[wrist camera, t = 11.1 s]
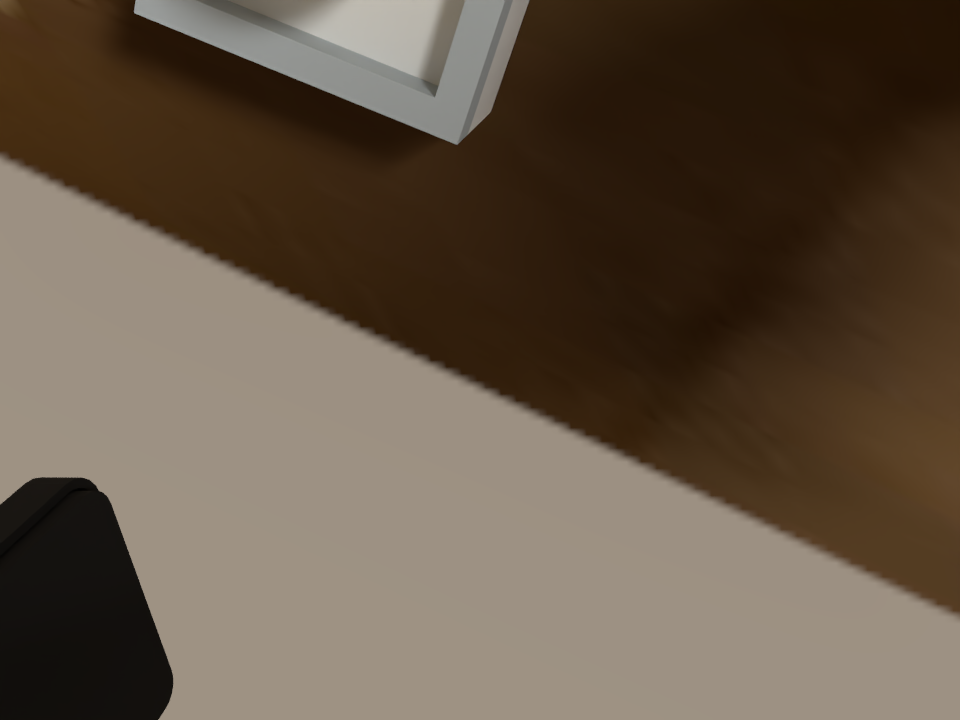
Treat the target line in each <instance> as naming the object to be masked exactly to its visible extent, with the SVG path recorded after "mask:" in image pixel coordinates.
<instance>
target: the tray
mask: <svg viewBox="0 0 960 720" xmlns="http://www.w3.org/2000/svg"><path fill="white" fill-rule="evenodd" d="M528 3H529V0H136V1H135V9H134V13H135V14H137V15H140V16H142V17H145V18H147V19H150V20H152V21H155V22H157V23H159V24H162V25H164V26H167V27H169V28H172V29H174V30H177V31H179V32H182V33H184V34H186V35H189V36H191V37H194V38H196V39H199V40H201V41H204V42H206V43H208V44H211V45H213V46H216V47H218V48H221V49H223V50H226V51H228V52H231V53H233V54H235V55H238V56H240V57H243V58H245V59H248V60H250V61H253V62H255V63H257V64H260V65H262V66H265V67H267V68H270V69H272V70H275V71H277V72H280V73H282V74H284V75H287V76H289V77H292V78H294V79H297V80H299V81H302V82H304V83H307V84H309V85H311V86H314V87H316V88H319V89H321V90H324V91H326V92H329V93H331V94H333V95H336V96H338V97H341V98H343V99H346V100H348V101H351V102H353V103H356V104H358V105H360V106H363V107H365V108H368V109H370V110H373V111H375V112H378V113H380V114H382V115H385V116H387V117H390V118H392V119H395V120H397V121H400V122H402V123H405V124H407V125H409V126H412V127H414V128H417V129H419V130H422V131H424V132H427V133H429V134H431V135H434V136H436V137H439V138H441V139H444V140H446V141H449V142H451V143H454V144H456V145H458V144H459V143H460V142H461V141H462V140H463V139H464V138H465V137H466V136H467V135H468V134H469V133H470V132H471V131H472V130H473V129H474V128H475V127H476V126H477V125H478V124H479V123H480V122H481V121H482V120H483V119H484V118H485V117H486V116H487V115H488V114H489V113H490V112H491V110H492V107H493V104H494V101H495V98H496V95H497V93H498V90H499V87H500V84H501V81H502V78H503V75H504V72H505V69H506V66H507V64H508V61H509V58H510V55H511V52H512V49H513V46H514V43H515V40H516V38H517V35H518V32H519V29H520V26H521V23H522V20H523V17H524V14H525V11H526V9H527V6H528Z"/></svg>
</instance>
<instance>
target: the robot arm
mask: <svg viewBox="0 0 960 720" xmlns="http://www.w3.org/2000/svg"><path fill="white" fill-rule="evenodd" d="M172 689H173V675H172V670H171V667H170V665H169V662H168V659H167V656H166V654H165V651H164V648H163V645H162V643H161V640H160V637H159V634H158V632H157V629H156V626H155V623H154V621H153V618H152V616H151V613H150V610H149V607H148V604H147V601H146V599H145V596H144V593H143V590H142V588H141V585H140V582H139V579H138V577H137V574H136V571H135V568H134V566H133V563H132V560H131V558H130V555H129V552H128V550H127V546H126V544H125V541H124V538H123V535H122V533H121V530H120V527H119V525H118V522H117V519H116V516H115V514H114V511H113V508H112V505H111V503H110V501H109V499H108V497H107V496H106V495H105V494H104V493H102V492H99V491H98V489H97V487H96V485H94V484H93V483H92V482H91V481H90V480H87V479H85V478H43V477H42V478H35V479H32V480H30V481H29V482H27V483H25V484H24V485H23V486H22V487H21V488H19V489H18V490H17V491H16V492H15V493H14V494H12V495H11V496H10V497H9V498H8V499H7V500H5V501H4V502H3V503H2V504H1V505H0V720H158V719H159V718H160V716H161V714H162V713H163V712H164V710H165V708H166V707H167V705H168V703H169V700H170V697H171V694H172Z"/></svg>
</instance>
